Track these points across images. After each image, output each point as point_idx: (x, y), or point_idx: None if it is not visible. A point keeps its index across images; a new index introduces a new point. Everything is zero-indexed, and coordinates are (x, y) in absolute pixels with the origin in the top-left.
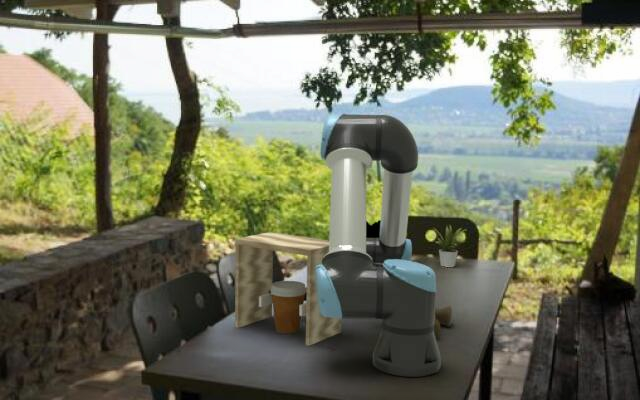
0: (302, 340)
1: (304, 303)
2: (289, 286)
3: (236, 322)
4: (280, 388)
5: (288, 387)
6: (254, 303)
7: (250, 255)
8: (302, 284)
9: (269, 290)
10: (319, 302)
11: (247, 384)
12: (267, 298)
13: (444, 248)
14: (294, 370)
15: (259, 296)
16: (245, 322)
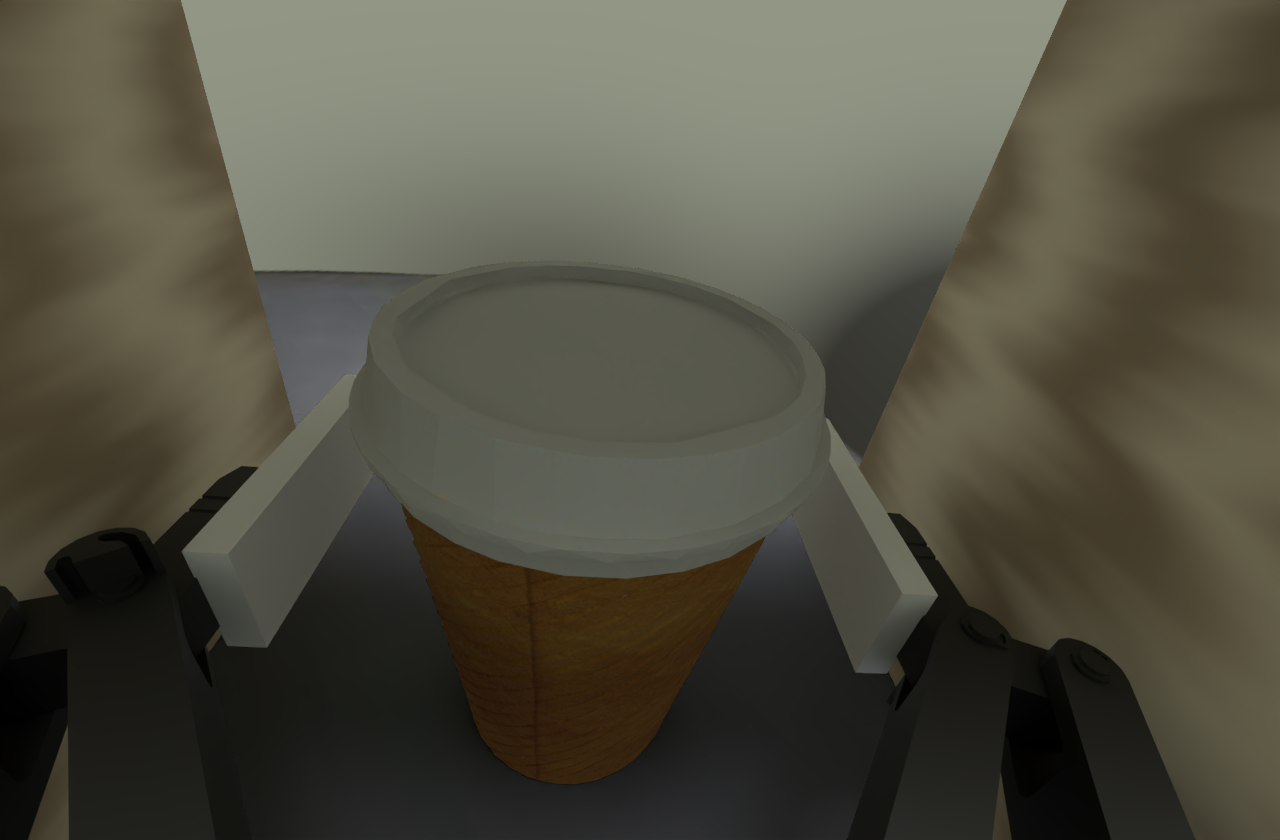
0: (362, 552)
1: (339, 415)
2: (578, 335)
3: None
4: (305, 277)
5: (283, 281)
6: (956, 572)
7: (1220, 19)
8: (458, 417)
9: (1072, 640)
10: None
11: (404, 276)
12: (821, 495)
13: None
14: (294, 332)
15: (826, 419)
16: None
